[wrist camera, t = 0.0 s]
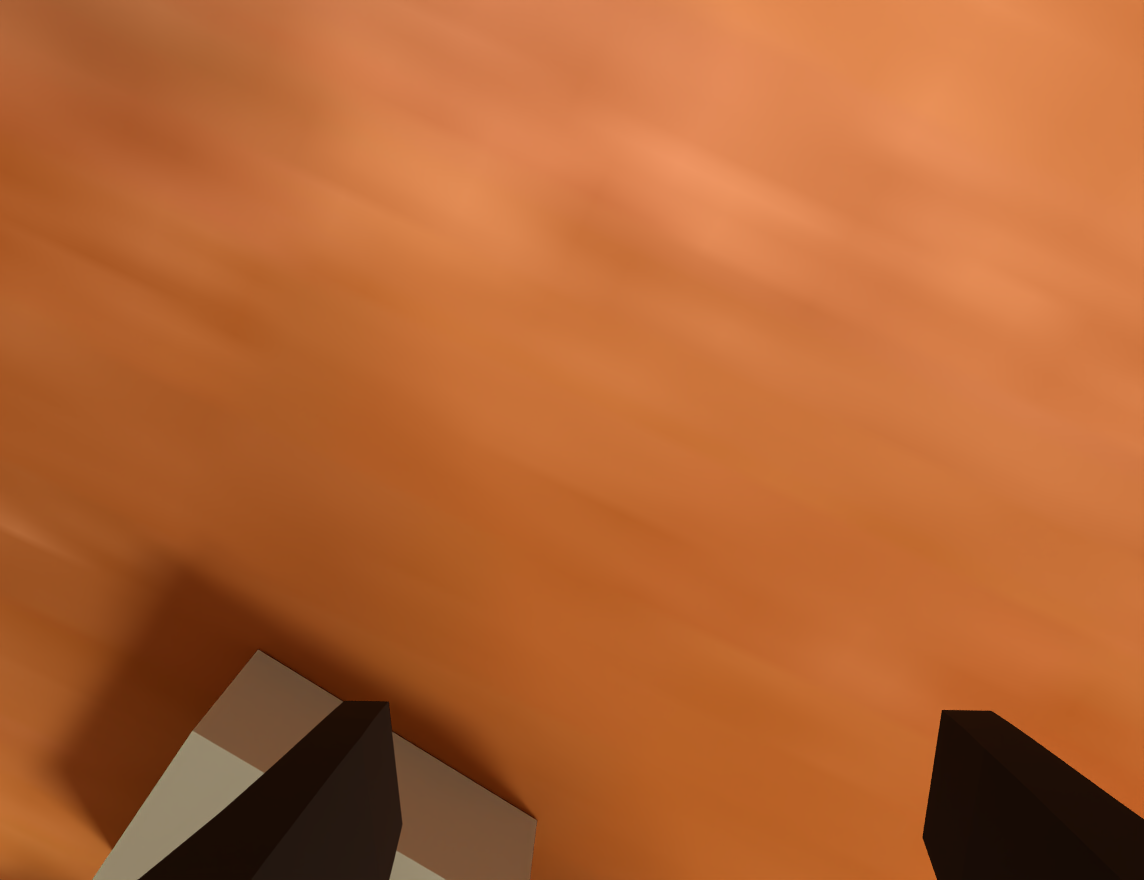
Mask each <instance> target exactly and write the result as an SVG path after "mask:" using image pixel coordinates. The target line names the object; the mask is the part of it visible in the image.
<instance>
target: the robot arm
mask: <svg viewBox="0 0 1144 880" xmlns="http://www.w3.org/2000/svg"><path fill="white" fill-rule="evenodd" d="M402 825H403V823H402V814H401V806H400V797H399V788H398V779H397V771H396V762H395V753H394V744H393V736H392V727H391V718H390V709H389V702H381V701H344V702H342V703H341V704H340V705H339V706H338V707H337V708H335V709H334V710H333V711H332V712H331V713H330V714H329V715H328V716H326V717H325V718H324V719H323V720H322V721H321V722H320V723H319V724H318V725H317V726H315V727H314V728H313V729H312V730H311V731H310V732H309V733H308V734H307V735H306V736H305V737H303V738H302V739H301V740H300V741H299V742H298V743H297V744H296V745H295V746H294V747H293V748H291V749H290V750H289V751H288V752H287V753H286V754H285V755H284V756H283V757H282V758H280V759H279V760H278V761H277V762H276V763H275V764H274V765H273V766H272V767H271V768H269V769H268V770H267V771H266V772H265V773H264V774H263V775H262V776H260V777H259V778H258V779H257V780H256V781H255V782H254V783H253V784H251V785H250V786H249V787H248V788H247V789H246V790H245V791H244V792H242V793H241V794H240V795H239V796H238V797H237V798H236V799H235V800H233V801H232V802H231V803H230V804H229V805H228V806H227V807H225V808H224V809H223V810H222V811H221V812H220V813H219V814H217V815H216V816H215V817H214V818H212V819H211V820H210V821H209V822H208V823H206V824H205V825H204V826H203V827H202V828H200V829H199V830H198V831H197V832H195V833H194V834H193V835H192V836H191V837H189V838H188V839H187V840H186V841H184V842H183V843H182V844H181V845H180V846H178V847H177V848H176V849H175V850H173V851H172V852H171V853H170V854H169V855H167V856H166V857H165V858H164V859H162V860H161V861H160V862H159V863H158V864H156V865H155V866H154V867H153V868H151V869H150V870H149V871H148V872H147V873H145V874H144V875H143V876H142V877H140V878H139V879H138V880H389V879H390V875H391V871H392V867H393V863H394V859H395V855H396V850H397V846H398V842H399V838H400V833H401V829H402ZM923 840H924V843H925V846H926V849H927V852H928V855H929V857H930V860H931V863H932V866H933V869H934V872H935V875H936V878H937V880H1144V819H1143V818H1141V817H1140V816H1138V815H1137V814H1136V813H1134V812H1133V811H1131V810H1130V809H1129V808H1127V807H1126V806H1124V805H1123V804H1122V803H1120V802H1119V801H1117V800H1116V799H1115V798H1113V797H1112V796H1111V795H1109V794H1108V793H1106V792H1105V791H1104V790H1102V789H1101V788H1099V787H1098V786H1097V785H1095V784H1094V783H1093V782H1091V781H1090V780H1088V779H1087V778H1086V777H1084V776H1083V775H1082V774H1080V773H1079V772H1077V771H1076V770H1075V769H1073V768H1072V767H1071V766H1069V765H1068V764H1066V763H1065V762H1064V761H1062V760H1061V759H1060V758H1058V757H1057V756H1055V755H1054V754H1053V753H1051V752H1050V751H1049V750H1047V749H1046V748H1044V747H1043V746H1042V745H1040V744H1039V743H1037V742H1036V741H1035V740H1033V739H1032V738H1030V737H1029V736H1028V735H1026V734H1025V733H1023V732H1022V731H1021V730H1019V729H1018V728H1016V727H1015V726H1013V725H1012V724H1010V723H1009V722H1008V721H1006V720H1005V719H1003V718H1001V717H1000V716H998V715H997V714H995V713H994V712H992V711H970V710H942V713H941V720H940V726H939V733H938V739H937V746H936V752H935V759H934V765H933V772H932V779H931V785H930V792H929V798H928V805H927V811H926V818H925V824H924V831H923Z"/></svg>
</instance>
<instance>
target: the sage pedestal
mask: <svg viewBox="0 0 1144 880" xmlns="http://www.w3.org/2000/svg"><path fill="white" fill-rule="evenodd" d="M342 702H343V701H341V700H340V699H338V698H336V697H335V696H333V695H332V694H330V693H328V692H327V691H325V690H323V689H322V688H320V687H318V686H317V685H315V684H314V683H312V682H310V681H309V680H307V679H305V678H304V677H302V676H301V675H299V674H297V673H296V672H294V671H292V670H291V669H289V668H287V667H286V666H284V665H283V664H281V663H279V662H278V661H276V660H274V659H273V658H271V657H270V656H268V655H266V654H265V653H263V652H261V651H260V650H257V652H256V653H255V654H254V655H253V657H252V658H251V659H250V660H249V662H248V663H247V664H246V665H245V666H244V668H243V669H242V670H241V671H240V673H239V674H238V675H237V676H236V678H235V679H234V680H233V681H232V682H231V684H230V685H229V686H228V687H227V689H226V690H225V691H224V692H223V694H222V695H221V696H220V697H219V699H218V700H217V701H216V702H215V703H214V705H213V706H212V707H211V708H210V710H209V711H208V712H207V713H206V715H205V716H204V717H203V718H202V720H201V721H200V722H199V723H198V724H197V726H196V727H195V728H194V729H193V731H192V732H191V734H190V735H189V737H188V738H187V740H186V741H185V743H184V744H183V745H182V747H181V748H180V750H179V751H178V753H177V754H176V756H175V757H174V759H173V760H172V762H171V763H170V765H169V766H168V768H167V769H166V771H165V772H164V774H163V775H162V777H161V778H160V780H159V781H158V783H157V784H156V786H155V787H154V789H153V790H152V792H151V793H150V795H149V796H148V797H147V799H146V800H145V802H144V803H143V805H142V806H141V808H140V809H139V811H138V812H137V814H136V815H135V817H134V818H133V820H132V821H131V823H130V824H129V826H128V827H127V829H126V830H125V832H124V833H123V835H122V836H121V838H120V839H119V841H118V842H117V844H116V845H115V847H114V848H113V849H112V851H111V852H110V854H109V855H108V857H107V858H106V860H105V861H104V863H103V864H102V866H101V867H100V869H99V870H98V872H97V873H96V875H95V876H94V878H93V879H92V880H138V879H139V878H140V877H142V876H143V875H144V874H145V873H147V872H148V871H149V870H150V869H151V868H153V867H154V866H155V865H156V864H158V863H159V862H160V861H161V860H162V859H164V858H165V857H166V856H167V855H169V854H170V853H171V852H172V851H173V850H175V849H176V848H177V847H178V846H180V845H181V844H182V843H183V842H184V841H186V840H187V839H188V838H189V837H191V836H192V835H193V834H194V833H195V832H197V831H198V830H199V829H200V828H202V827H203V826H204V825H205V824H206V823H208V822H209V821H210V820H211V819H212V818H214V817H215V816H216V815H217V814H219V813H220V812H221V811H222V810H223V809H224V808H225V807H227V806H228V805H229V804H230V803H231V802H232V801H233V800H235V799H236V798H237V797H238V796H239V795H240V794H241V793H242V792H244V791H245V790H246V789H247V788H248V787H249V786H250V785H251V784H253V783H254V782H255V781H256V780H257V779H258V778H259V777H260V776H262V775H263V774H264V773H265V772H266V771H267V770H268V769H269V768H271V767H272V766H273V765H274V764H275V763H276V762H277V761H278V760H279V759H280V758H282V757H283V756H284V755H285V754H286V753H287V752H288V751H289V750H290V749H291V748H293V747H294V746H295V745H296V744H297V743H298V742H299V741H300V740H301V739H302V738H303V737H305V736H306V735H307V734H308V733H309V732H310V731H311V730H312V729H313V728H314V727H315V726H317V725H318V724H319V723H320V722H321V721H322V720H323V719H324V718H325V717H326V716H328V715H329V714H330V713H331V712H332V711H333V710H334V709H335V708H337V707H338V706H339V705H340V704H341V703H342ZM392 736H393V744H394V753H395V762H396V771H397V779H398V788H399V797H400V806H401V814H402V823H403V825H402V829H401V833H400V838H399V842H398V846H397V850H396V855H395V859H394V863H393V867H392V871H391V875H390V879H389V880H530V874H531V866H532V858H533V850H534V842H535V834H536V825H537V820H535V819H534V818H532V817H531V816H529V815H527V814H526V813H524V812H522V811H521V810H519V809H518V808H516V807H514V806H513V805H511V804H509V803H508V802H506V801H504V800H503V799H501V798H500V797H498V796H496V795H495V794H493V793H491V792H490V791H488V790H487V789H485V788H483V787H482V786H480V785H478V784H477V783H475V782H473V781H472V780H470V779H469V778H467V777H465V776H464V775H462V774H460V773H459V772H457V771H456V770H454V769H452V768H451V767H449V766H447V765H446V764H444V763H442V762H441V761H439V760H438V759H436V758H434V757H433V756H431V755H429V754H428V753H426V752H425V751H423V750H421V749H420V748H418V747H416V746H415V745H413V744H411V743H410V742H408V741H407V740H405V739H403V738H402V737H400V736H398V735H397V734H395V733H394V732H392Z"/></svg>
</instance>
